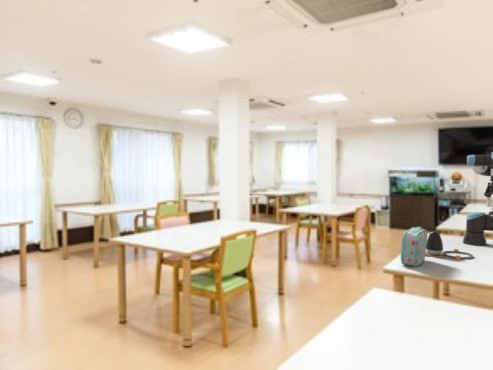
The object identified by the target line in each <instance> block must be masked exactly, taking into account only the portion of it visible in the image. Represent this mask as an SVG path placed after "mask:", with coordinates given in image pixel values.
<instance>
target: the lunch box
mask: <svg viewBox="0 0 493 370" xmlns="http://www.w3.org/2000/svg"><path fill="white" fill-rule="evenodd" d="M427 239H428V230H427V229H425V228H422V226H416V227H414V226H412V227H411V228H409V229H407V230H404V232H403V236H402V238H401V243H400V244H401V246H400V261H401V264H402V265H405V266H411V267H415V268H416V267H418V266H420V265H422V264H423V262H424V261H425V258H426V256H425V255H426V252H427V250H426V244H427Z"/></svg>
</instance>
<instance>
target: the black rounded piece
mask: <svg viewBox="0 0 493 370" xmlns="http://www.w3.org/2000/svg"><path fill="white" fill-rule="evenodd" d="M441 233H442V232H441V231H439V232H438V231H436V230H434V231H431V232H430V233H429V235H428V236H427V244H426V252H428V253H429V254H431V255H439V254H441V253H442V252H443V251H444V243H443V239H442V237H441Z"/></svg>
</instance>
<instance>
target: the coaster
mask: <svg viewBox="0 0 493 370" xmlns="http://www.w3.org/2000/svg"><path fill="white" fill-rule="evenodd" d="M425 257H431V258H437V259H438V258H439V259H444V258H445V256H444V255H443V254H442V253H441V254H439V255H431V254H429V253H428V252H427V251H426V255H425Z"/></svg>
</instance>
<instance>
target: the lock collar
mask: <svg viewBox="0 0 493 370" xmlns="http://www.w3.org/2000/svg"><path fill="white" fill-rule="evenodd" d="M442 254H443V255H444V258H445V257H446V258H449V259H455V260H458V261H460V260H472V259H474V255H473V254H472V253H469V252H465V251H460V249H458V248H454V249H453V250H442ZM450 254H457V255H450ZM459 254H462V255H466V256H462V255H459Z"/></svg>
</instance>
